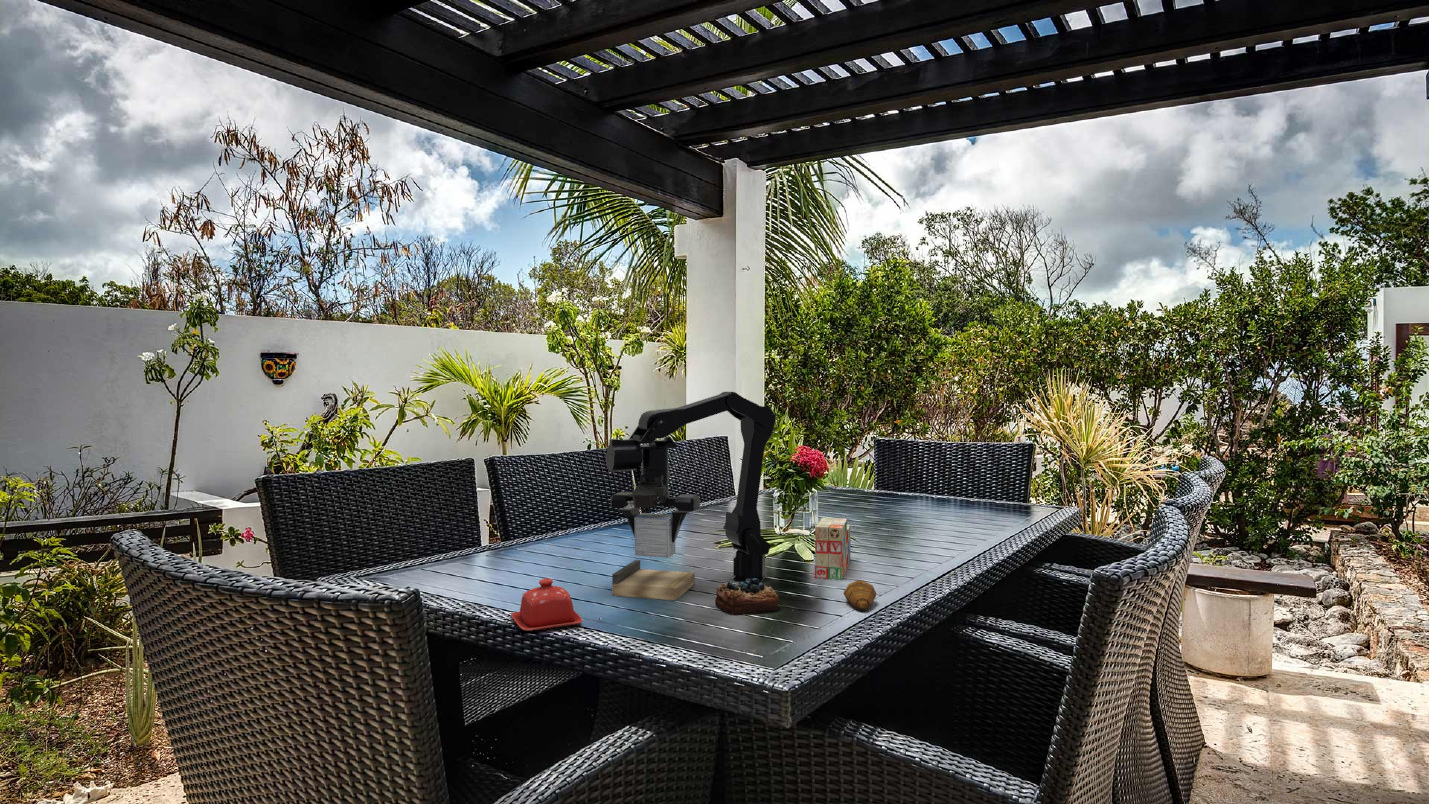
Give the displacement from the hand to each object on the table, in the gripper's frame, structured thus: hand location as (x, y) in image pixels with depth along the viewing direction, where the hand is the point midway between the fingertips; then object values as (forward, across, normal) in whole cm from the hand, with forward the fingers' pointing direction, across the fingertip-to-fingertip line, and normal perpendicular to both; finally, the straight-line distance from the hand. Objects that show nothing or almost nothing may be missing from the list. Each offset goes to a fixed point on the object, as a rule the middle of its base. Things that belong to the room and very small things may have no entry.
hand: (655, 541), depth 174 cm
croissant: (+11, +44, +1) cm, 45 cm away
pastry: (+11, +22, -8) cm, 26 cm away
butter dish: (+11, -12, -28) cm, 32 cm away
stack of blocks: (+11, +35, +30) cm, 47 cm away
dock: (+10, 0, 0) cm, 11 cm away
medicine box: (+3, 0, 0) cm, 3 cm away
